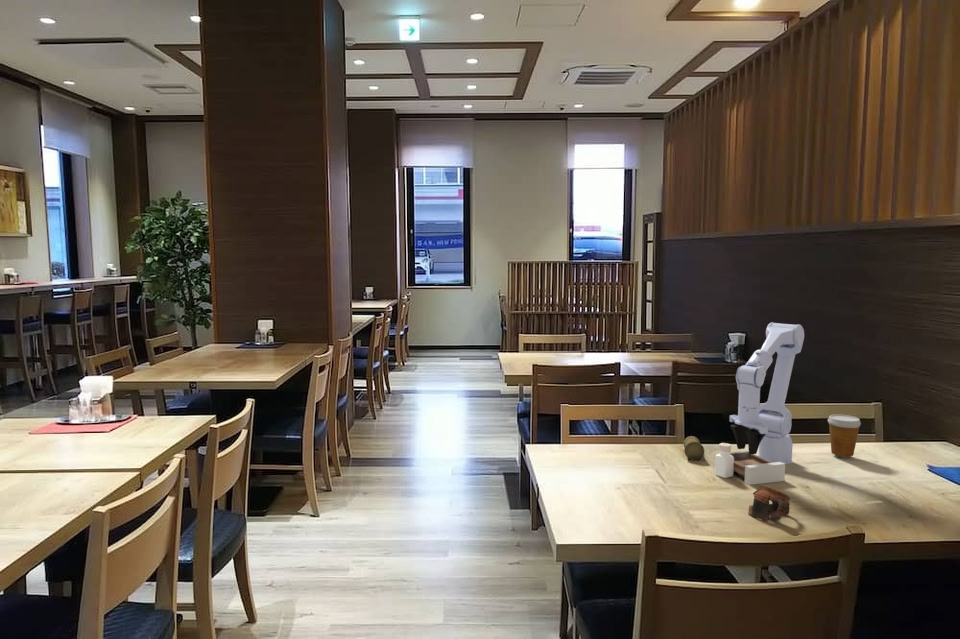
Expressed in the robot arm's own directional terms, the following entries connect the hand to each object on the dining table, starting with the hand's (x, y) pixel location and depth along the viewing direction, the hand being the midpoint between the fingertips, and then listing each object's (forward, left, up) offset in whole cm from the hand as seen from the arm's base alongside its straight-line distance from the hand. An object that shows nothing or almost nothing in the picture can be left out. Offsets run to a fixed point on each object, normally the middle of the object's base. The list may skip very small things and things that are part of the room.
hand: (746, 451), depth 196 cm
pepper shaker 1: (+8, -14, -4) cm, 17 cm away
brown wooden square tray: (0, 0, -7) cm, 7 cm away
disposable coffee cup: (-42, -7, -7) cm, 43 cm away
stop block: (0, +8, -7) cm, 10 cm away
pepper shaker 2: (+8, +1, -7) cm, 11 cm away
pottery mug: (+18, +30, -8) cm, 36 cm away
